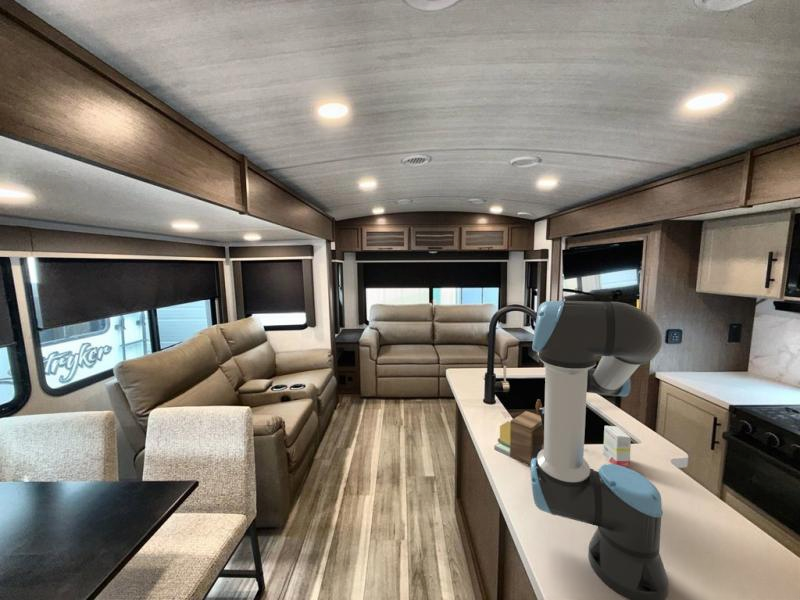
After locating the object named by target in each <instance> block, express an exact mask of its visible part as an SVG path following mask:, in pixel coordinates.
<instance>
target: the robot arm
mask: <svg viewBox="0 0 800 600" xmlns="http://www.w3.org/2000/svg"><path fill="white" fill-rule="evenodd" d="M662 344H663V338H662V332H661V330H660V328H659V326H658V324H657V323H656V321H655V320H654V319H653V318H652V317H651V316H650V315H649V314H648V313H646V312H645V311H644V310H642V309H641V308H639V307H636V306H634V305H632V304H629V303H625V302H619V301H583V300H554V301H553V300H552V301H548V300H547V301H544V302H542V303H540V305H539V306H538V309H537V313H536V320H535V325H534V332H533V339H532V347H531V348H532V350H533V351H534V352H537V353H538V359H539V360H540V362H542V363H543V364H544V365H545V375H544V378H545V379H544V381H545V383H544V407H542V408H540V409H539V410H538V412H539V414H540V416H541V420H542V425H543V430H544V449H542V450H541V451H540V452H539V453H538V455H537V458H533V459H532V460H531V466H530V479H531V490H532V491H531V492H532V499H533V502H534V504H535V507H537V509H538V510H540V511H542V512H543V513H544V512H546V513H547V514H550V515H552V516H558V517H562V518H566V519H568V520H569V519H570V520H573V521H577V522H581V523H585V524H588V525H593V526H595V527H597V528H596V530H595V532H594V533H593V536H592V537H591V539H590V541H589V544H588V555H587V556H588V561H589V564H590V566H591V569H592V570H593V571H594V573H595V574H596V575H597V576H598V577H599V578H600V580H601V581H602V582H603V583H604V584H605V585H607V587H609V588H610V589H612V590H613V591H615V592H616V593H618V594H620V595H621V596H623V597H625V598H628V599H630V600H666V598H667V597H668V593H669V579H668V575H667V572H666V569H665V566H664V563H663V559H662V556H661V554H660V545H661V544H660V543H661V527H662V516H663V513H664V512H663V507H662V506H663V505H662V497H661V493H660V491H659V489H658V488H657V487H656V486H655V485H654V484H653V482H652V481H650V479H648V478H646V477H645V476H643V475H642V474H641V473H639V472H637V471H635V470H633V469H630V468H626V467H623V466H619V465H615V464H612V463H608V464H602V465H601V466H600V467H599V469H598V471H597V470H594V469H593V470H594V471H593V470H590V467H591V466H590V465H589V463H588V461H587V460H586V459H585V458H584V449H585V433H586V432H585V431H586V430H585V429H586V413H587V411H586V410H587V409H586V408H587V395H588V394H589V393H591V394H596V395H603V396H612V397H623V398H624V397H628V396H629V395H630V393H631V376H632V375H633V374H634V373H635V372H636V370H637V369H638V368H639V367H640V366H641V365H644V364H647V363H649V362H651V361H652V360H653V359H654V358H655V357H656V356H657V355H658V354H659V352H660V351H661V348H662ZM597 357H601V358H600V360H599V362H598V365H597V361H598V360H597ZM595 366H596V368H594V367H595ZM587 393H588V394H587Z"/></svg>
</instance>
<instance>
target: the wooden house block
mask: <svg viewBox="0 0 800 600" xmlns="http://www.w3.org/2000/svg"><path fill="white" fill-rule="evenodd" d="M510 422H511V423H510V456H509V458H512V459H514V460H516V461H518V462H521V463H522V464H525V465H527V466H528V467H531V466H530V463H531V460H532V458H533V446H536V447H538V448H541V449H542V444H544V430H543V425H542V420H541V416H540V415H537V413H534V412H530V411H527V410H526V411H524V412H523V413H521V414H519V415H518V416H515V418H513V419H511V420H510Z"/></svg>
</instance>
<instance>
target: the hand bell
mask: <svg viewBox="0 0 800 600" xmlns="http://www.w3.org/2000/svg"><path fill="white" fill-rule="evenodd" d="M540 408H543V404H542V401H541V399H539V398H537V400H536V403H535V411H536V414H537V415H540V414H539V412H538V410H539V409H540Z"/></svg>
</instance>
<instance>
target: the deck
mask: <svg viewBox="0 0 800 600" xmlns="http://www.w3.org/2000/svg"><path fill="white" fill-rule="evenodd" d="M493 446H494V447H493V449H494V450H495V451H497V452H499V453H501V454H503V455H505V456H508V457H510V447H509V446H507V445H505V444H502V443H500V442H498V443H496V444H495V445H493ZM533 458H534V457H533ZM533 458H532V459H533ZM529 467H531V463H530V466H529Z"/></svg>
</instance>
